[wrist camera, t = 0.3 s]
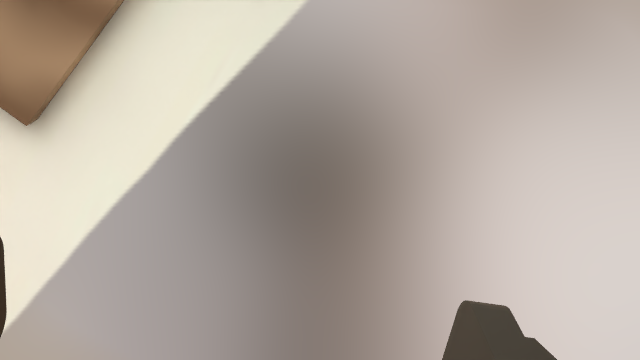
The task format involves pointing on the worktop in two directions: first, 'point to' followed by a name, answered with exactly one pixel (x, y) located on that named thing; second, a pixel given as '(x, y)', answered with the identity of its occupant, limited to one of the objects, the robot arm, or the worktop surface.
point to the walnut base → (44, 48)
